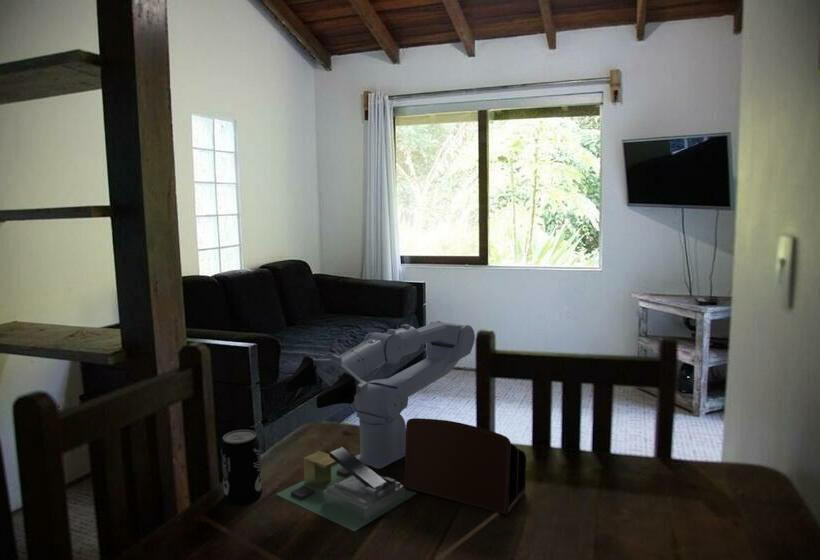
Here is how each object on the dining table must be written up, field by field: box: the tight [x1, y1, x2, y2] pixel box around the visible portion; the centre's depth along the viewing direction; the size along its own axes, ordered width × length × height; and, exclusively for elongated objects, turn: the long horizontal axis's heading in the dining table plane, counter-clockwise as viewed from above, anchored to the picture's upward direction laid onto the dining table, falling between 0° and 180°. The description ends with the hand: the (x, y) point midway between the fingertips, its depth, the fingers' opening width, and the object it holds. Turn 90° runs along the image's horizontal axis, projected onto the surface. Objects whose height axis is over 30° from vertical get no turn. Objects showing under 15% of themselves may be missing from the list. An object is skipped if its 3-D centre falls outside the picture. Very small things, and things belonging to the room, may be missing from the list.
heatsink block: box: [323, 473, 405, 522], centre depth 109 cm, size 10×10×4 cm
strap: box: [329, 446, 389, 493], centre depth 109 cm, size 3×12×1 cm, turn 50°
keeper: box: [303, 450, 338, 488], centre depth 115 cm, size 4×6×5 cm
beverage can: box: [220, 429, 263, 506], centre depth 111 cm, size 7×7×12 cm
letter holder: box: [403, 417, 527, 516], centre depth 112 cm, size 10×20×14 cm, turn 61°
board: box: [275, 463, 418, 532], centre depth 112 cm, size 16×20×1 cm
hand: (301, 394), depth 109 cm, fingers open, 7 cm apart
